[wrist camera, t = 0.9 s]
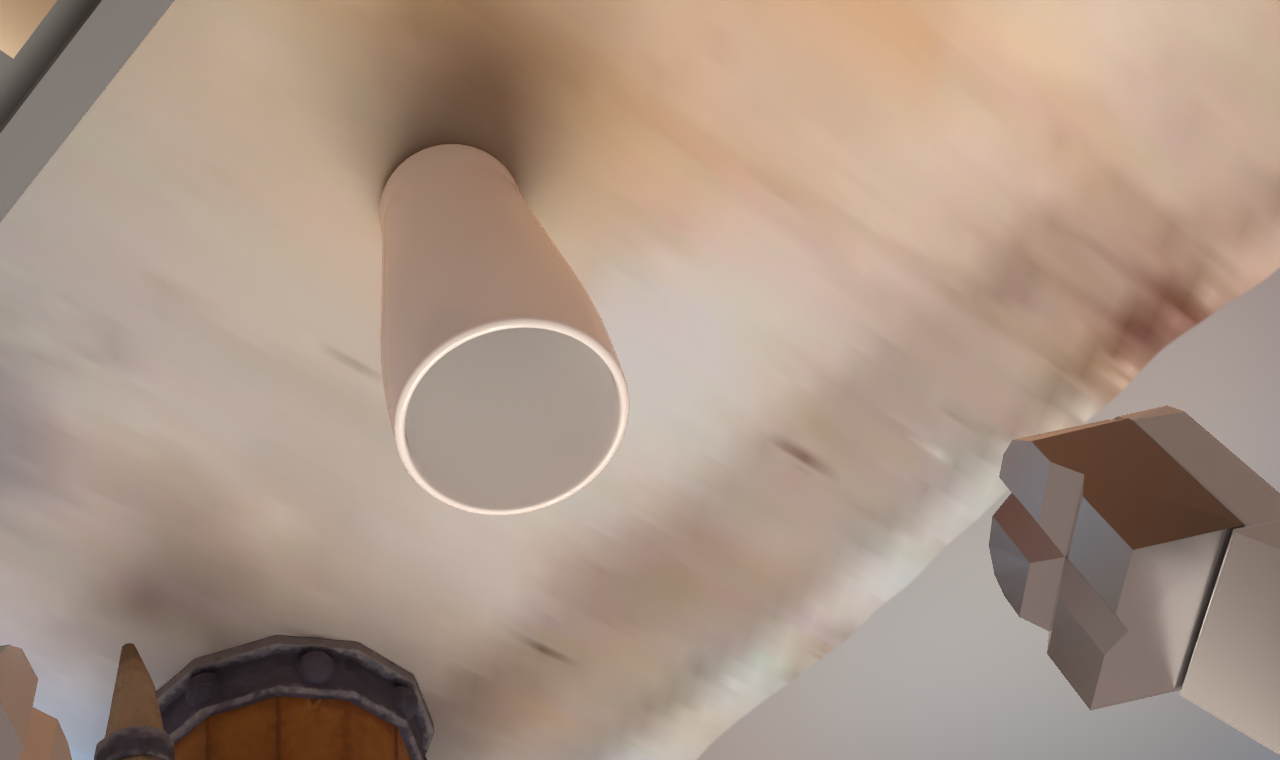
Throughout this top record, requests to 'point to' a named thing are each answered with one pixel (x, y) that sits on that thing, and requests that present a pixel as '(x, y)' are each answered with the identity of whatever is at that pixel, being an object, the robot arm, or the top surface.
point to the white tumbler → (489, 342)
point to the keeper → (20, 22)
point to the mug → (269, 706)
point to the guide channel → (62, 80)
